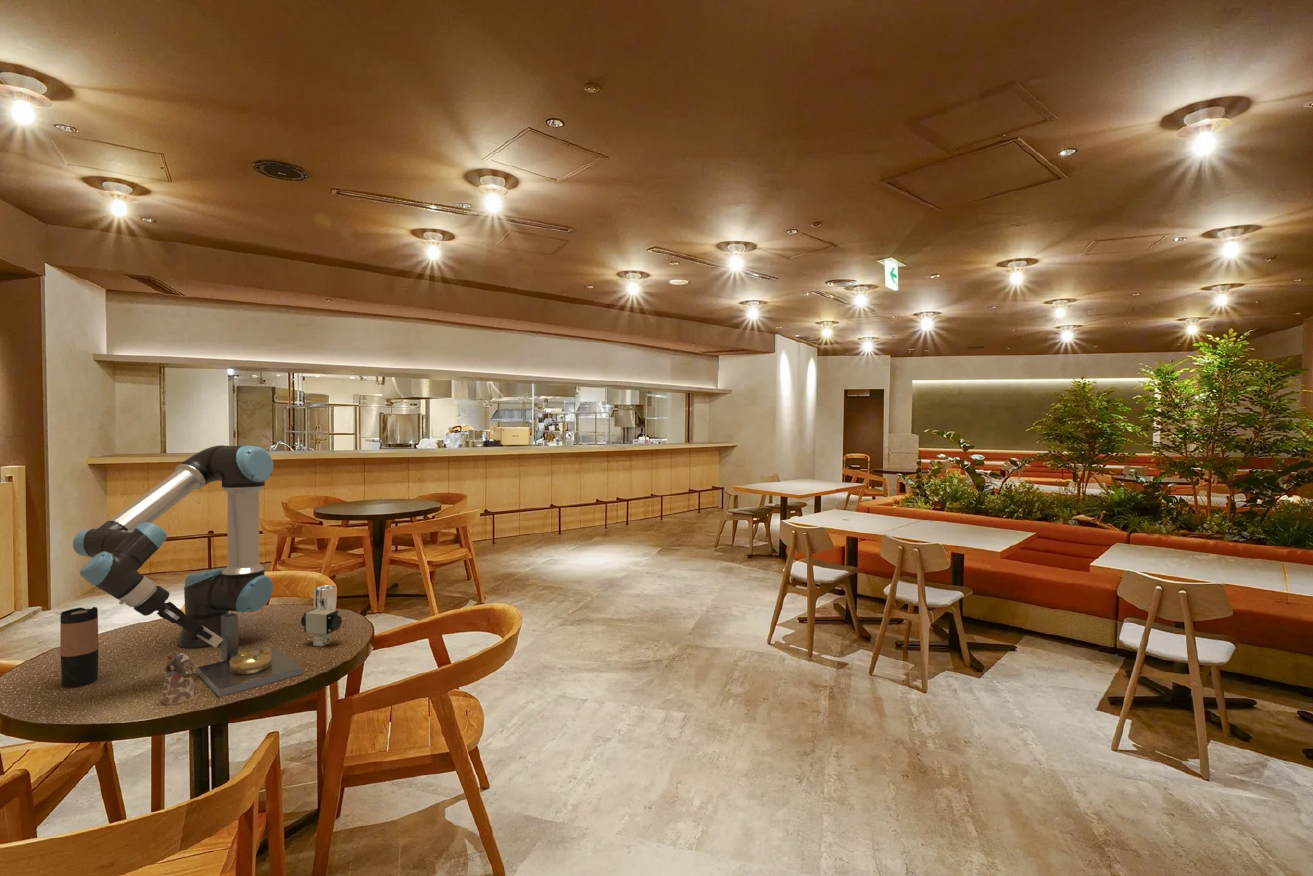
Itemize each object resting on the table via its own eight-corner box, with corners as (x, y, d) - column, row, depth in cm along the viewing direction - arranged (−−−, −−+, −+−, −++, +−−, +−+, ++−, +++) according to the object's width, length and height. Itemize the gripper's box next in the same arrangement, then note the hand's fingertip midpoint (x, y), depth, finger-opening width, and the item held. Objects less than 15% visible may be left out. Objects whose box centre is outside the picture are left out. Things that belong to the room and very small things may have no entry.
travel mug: (66, 690, 162) (65, 616, 162) (56, 684, 167) (55, 612, 166) (103, 680, 169) (102, 609, 169) (93, 674, 173) (92, 605, 173)
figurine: (184, 704, 155) (183, 658, 155) (154, 705, 155) (154, 658, 154) (202, 692, 162) (202, 647, 162) (174, 693, 162) (174, 648, 161)
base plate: (197, 674, 174) (197, 666, 174) (276, 654, 189) (276, 647, 189) (219, 697, 159) (219, 688, 159) (302, 674, 175) (302, 666, 174)
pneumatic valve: (331, 648, 194) (331, 611, 194) (300, 646, 197) (300, 609, 196) (344, 642, 200) (344, 606, 199) (313, 640, 202) (313, 604, 202)
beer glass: (332, 625, 217) (332, 583, 216) (339, 630, 212) (339, 587, 211) (311, 630, 212) (311, 587, 212) (317, 634, 207) (317, 591, 207)
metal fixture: (208, 664, 175) (207, 619, 175) (245, 653, 184) (244, 609, 183) (242, 677, 167) (242, 629, 166) (279, 664, 176) (279, 618, 175)
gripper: (127, 602, 166) (200, 648, 179) (136, 613, 157) (213, 660, 169) (152, 580, 170) (222, 626, 182) (163, 589, 161) (236, 637, 173)
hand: (218, 642), depth 176 cm, fingers closed
